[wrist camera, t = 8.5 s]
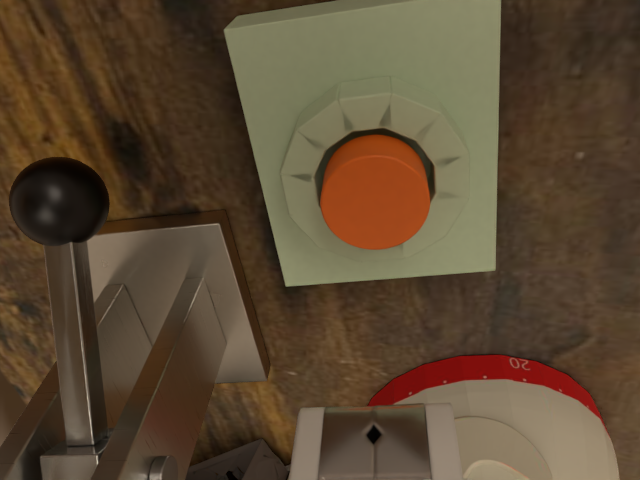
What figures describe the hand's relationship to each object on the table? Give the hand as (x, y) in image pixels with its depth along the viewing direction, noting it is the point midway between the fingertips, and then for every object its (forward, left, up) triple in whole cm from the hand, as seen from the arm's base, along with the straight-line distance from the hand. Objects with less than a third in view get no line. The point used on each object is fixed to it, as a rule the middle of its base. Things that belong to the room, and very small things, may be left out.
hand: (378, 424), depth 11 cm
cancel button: (0, 0, -10) cm, 10 cm away
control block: (0, 0, -14) cm, 14 cm away
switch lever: (+4, -11, -8) cm, 14 cm away
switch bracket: (+7, -11, -14) cm, 19 cm away
